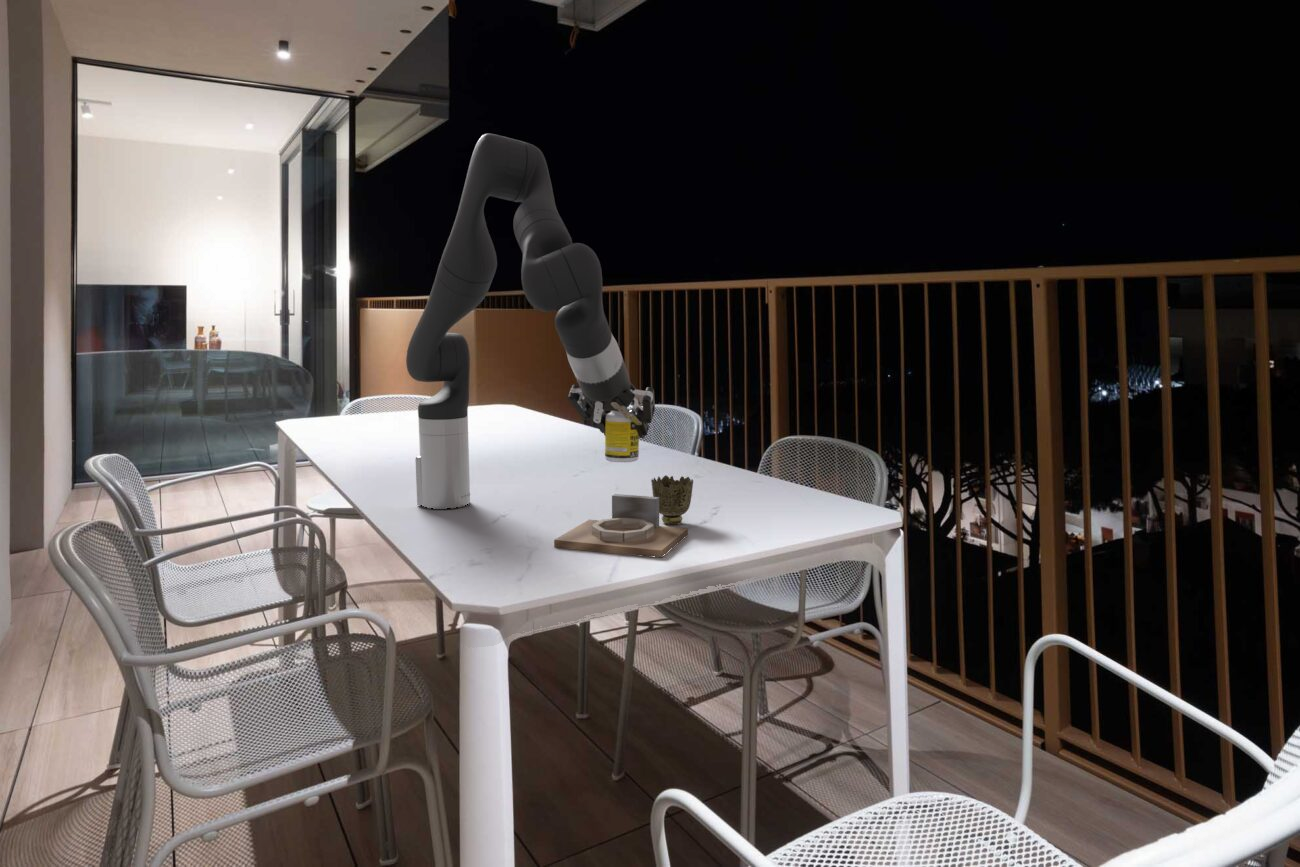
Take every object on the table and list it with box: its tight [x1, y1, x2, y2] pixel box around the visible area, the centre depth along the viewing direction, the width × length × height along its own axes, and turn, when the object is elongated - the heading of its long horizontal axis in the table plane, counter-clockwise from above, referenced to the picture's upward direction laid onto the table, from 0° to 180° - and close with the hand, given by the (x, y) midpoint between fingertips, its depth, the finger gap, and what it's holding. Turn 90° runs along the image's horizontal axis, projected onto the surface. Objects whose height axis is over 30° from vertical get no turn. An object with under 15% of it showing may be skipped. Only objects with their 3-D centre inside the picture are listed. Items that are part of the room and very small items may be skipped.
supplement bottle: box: [604, 411, 640, 463], centre depth 131 cm, size 5×5×10 cm
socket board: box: [553, 493, 689, 558], centre depth 133 cm, size 18×14×6 cm
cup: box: [650, 474, 694, 526], centre depth 145 cm, size 8×7×8 cm
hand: (626, 432), depth 132 cm, fingers closed on supplement bottle, 5 cm apart
